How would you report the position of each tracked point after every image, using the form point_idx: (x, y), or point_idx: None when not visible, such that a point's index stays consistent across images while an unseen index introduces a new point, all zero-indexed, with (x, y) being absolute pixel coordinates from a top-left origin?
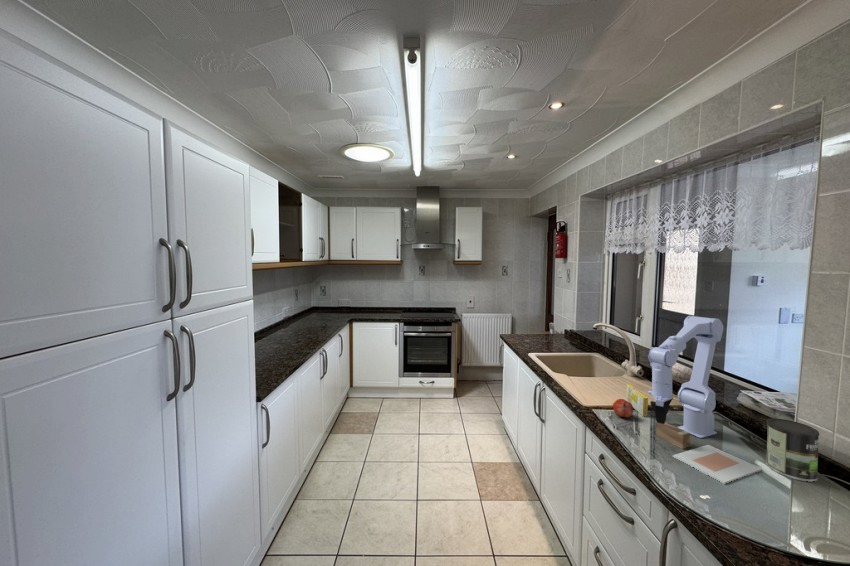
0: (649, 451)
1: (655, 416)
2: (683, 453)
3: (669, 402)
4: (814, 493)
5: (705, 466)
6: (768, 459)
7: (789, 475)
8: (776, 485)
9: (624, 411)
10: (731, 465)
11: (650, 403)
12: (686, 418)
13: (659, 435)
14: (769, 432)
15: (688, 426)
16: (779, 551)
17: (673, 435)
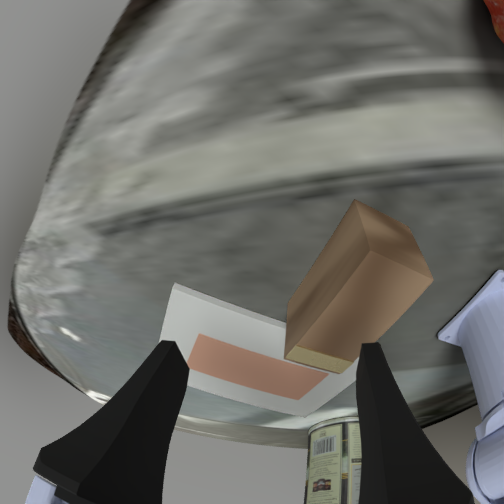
0: (135, 208)
1: (133, 375)
2: (227, 314)
3: (359, 499)
4: (273, 437)
5: (192, 355)
6: (338, 433)
7: (309, 433)
8: (252, 418)
9: (502, 6)
10: (264, 391)
11: (36, 463)
12: (502, 345)
13: (345, 224)
14: (335, 500)
15: (481, 324)
16: (62, 377)
17: (306, 312)
